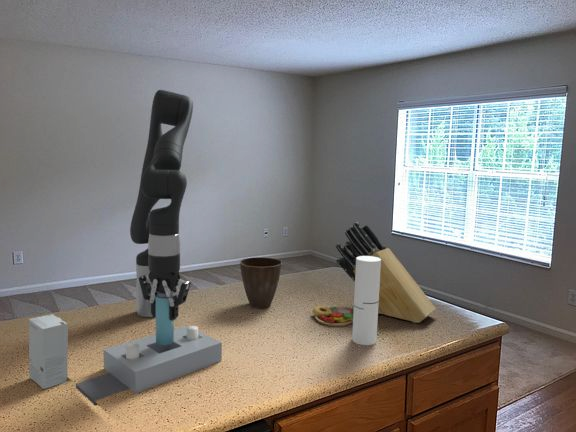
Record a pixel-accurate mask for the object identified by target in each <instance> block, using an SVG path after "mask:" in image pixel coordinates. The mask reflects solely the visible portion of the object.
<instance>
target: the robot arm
mask: <svg viewBox="0 0 576 432" xmlns="http://www.w3.org/2000/svg"><path fill="white" fill-rule="evenodd" d="M193 103H194V102H193V99H192V98H191V97H190V96H187V95H186V94H181V93H177V92H173V91H169V90H164V89H157V91H156V92H155V94H154V97H153V99H152V106H151V111H150V113H151V114H150V123H149V132H148V139H147V146H146V149H145V155H144V158H143V164H142V169H141V174H140V182H139V188H138V194H137V199H136V203H135V207H134V210H133V214H132V218H131V221H130V226H129V227H130V228H129V230H130V231H129V233H130V234H129V235H130V239H131V241H132V242H133V243H134V244H137V245H144V244H145V245H146V244H148V246H147V247H148V248H147V249H145V250H143V251H141V252H139V253H138V254H136V258H135V259H136V260H135V263H136V284H135V293H136V294H135V297H136V298H135V300H136V301H135V303H136V306H135V307H136V314H137V316H139V317H143V318H155V319H156V304H155V296H156V295H157V292H164V293H166V296H167V298H168V299H169V303H170V320H171V321H173V320H174V321H176V320H177V318H178V317H179V306H181V305H182V304H184V303H186V301H187V298H188V295H189V292H190V287H191V284H192V282H191V281H190V280H184V279H182V278H181V274H180V269H181V239H180V212H181V207H182V202H183V199H184V195H185V194H186V189H187V185H188V182H187V177H186V174H184V172H183V171H182V170H181V167H182V159H183V149H184V146H185V142H186V140H187V139H186V138H187V135H188V133H189V129H190V125H191V121H192V116H193V111H194V110H193V108H194V104H193ZM162 124H163V125H168V126H173V128H171V129H169V130H168V131H166V132H165V133H163V130H162V129H163V128H162ZM159 200H170V204H169V205H167V206H165V207H158V208H155V209H153V207H154V206H155V205H156V204H157V203H158V202H159ZM171 291H172V293H171Z"/></svg>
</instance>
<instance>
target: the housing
mask: <svg viewBox="0 0 576 432" xmlns="http://www.w3.org/2000/svg"><path fill="white" fill-rule="evenodd" d="M189 326H190V325H186V324H185V325H183V326H179V327H176V328H174V342H173V343H172V344H169V345H158V344H156V333H154V334H151V335H148V336H146V337H141V338H139V339H134V340H131V341H127V342H124V343H121V344H117V345H114V346H110V347H107V348H104V349H103V369H104V370H105V371H106V372H107V373H110V374H112V375H113V376H114V377H116V378H117V379H118V380H119V381H121V382H122V383H123V384H125V385H126V386H127V387H129V390H131V391H132V392H133V393H135V394H138V393H140V392H143V391H145V390H149V389H151V388H154V387H157V386H158V385H162V384H164V383H166V382H169V381H172V380H175V379H177V378H180V377H182V376H185V375H188V374H191V373H193V372H196V371H199V370H201V369H204V368H206V367H209V366H212V365H215V364H217V363H220V362H222V360H223V359H222V356H223V355H222V352H223V351H222V349H223V348H222V345H223V342H221V341H220V340H217V339H216V338H214V337H212V336H210V335H207V334H205V333H203V332H201V331H200V330H198V339H196V340H193V341H189V340H187V327H189ZM133 343H135V344H138V345H139V358H137V359H134V360H130V361H128V360H126V345H128V344H133Z"/></svg>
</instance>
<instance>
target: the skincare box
mask: <svg viewBox="0 0 576 432" xmlns="http://www.w3.org/2000/svg"><path fill="white" fill-rule="evenodd" d="M28 329H29V330H28V346H29V347H28V352H29V353H28V355H29V356H28V362H29V363H28V367H29V368H28V369H29V370H28V372H29V379H31V380H32V381H34V383H36V384H37V385H38V386H39V387H40V388H41V389H42V390H46V389H49V388H52V387H54V386H58V385H61V384H64V383H67V382H68V381H69V380H68V378H69V377H68V372H69V371H68V369H69V368H68V361H69V360H68V355H69V354H68V344H69V343H68V341H69V340H68V337H69V336H68V333H69V332H68V331H69V330H68V323H67V322H66V321H64V320H63V319H62V318H60V317H58V316H56V315H55V314H52V313H51V314H47V315H42V316H37V317H32V318H29V319H28Z"/></svg>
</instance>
